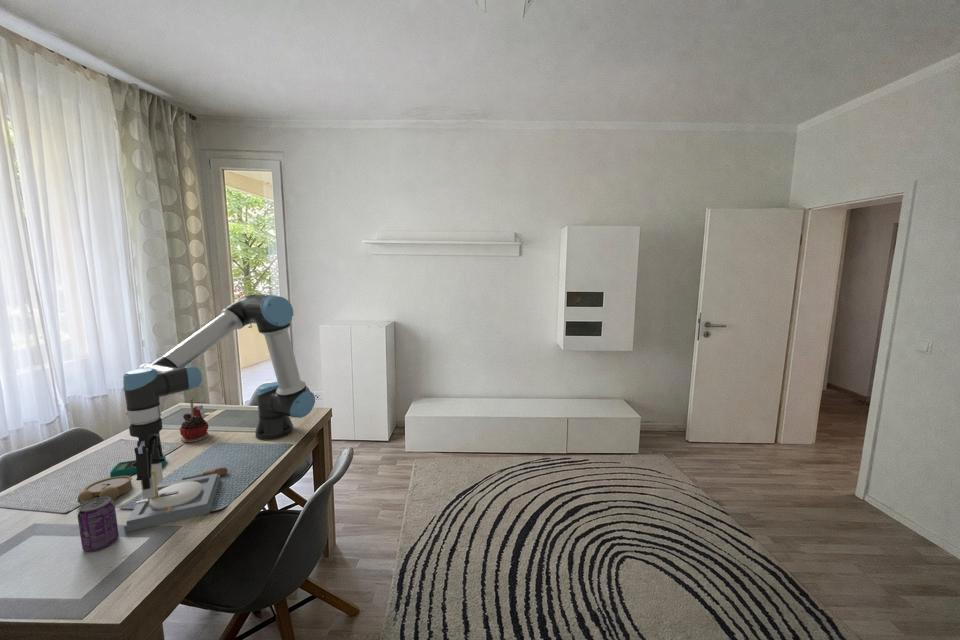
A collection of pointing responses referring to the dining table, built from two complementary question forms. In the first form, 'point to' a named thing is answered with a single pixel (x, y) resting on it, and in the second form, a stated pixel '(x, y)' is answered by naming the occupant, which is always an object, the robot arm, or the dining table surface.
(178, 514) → the panel
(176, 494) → the dial
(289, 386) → the robot arm
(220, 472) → the screwdriver
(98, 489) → the alarm clock
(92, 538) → the beverage can
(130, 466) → the digital multimeter
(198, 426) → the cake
